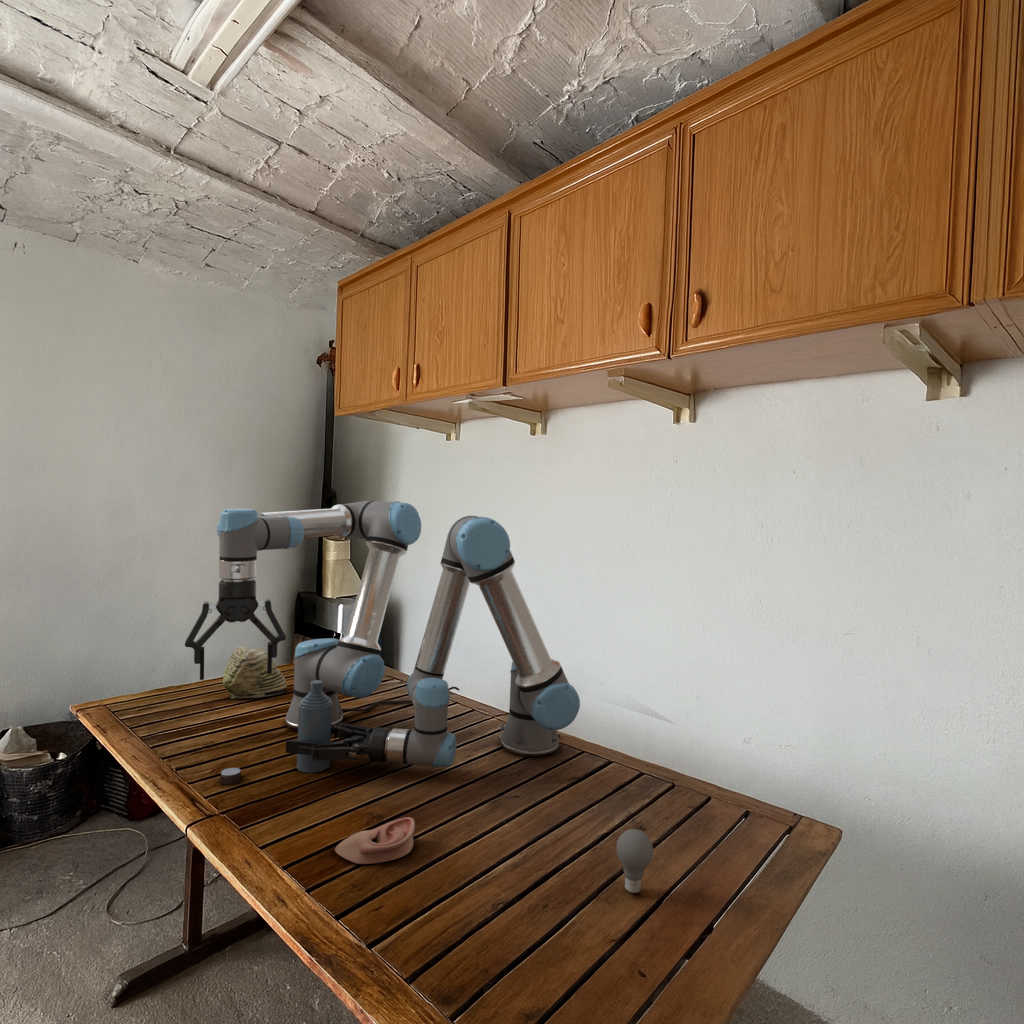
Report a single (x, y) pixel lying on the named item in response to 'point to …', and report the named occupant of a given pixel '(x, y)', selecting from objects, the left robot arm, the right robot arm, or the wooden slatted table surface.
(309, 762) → the bottle
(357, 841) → the anatomical model
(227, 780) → the cap
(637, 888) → the light bulb
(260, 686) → the fossil
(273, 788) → the wooden slatted table surface
